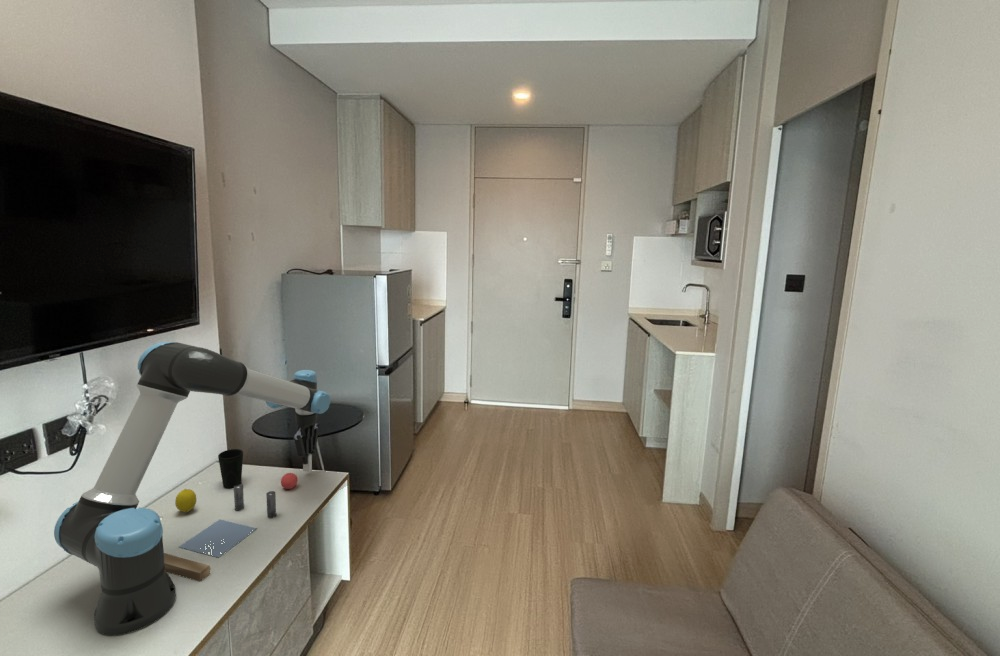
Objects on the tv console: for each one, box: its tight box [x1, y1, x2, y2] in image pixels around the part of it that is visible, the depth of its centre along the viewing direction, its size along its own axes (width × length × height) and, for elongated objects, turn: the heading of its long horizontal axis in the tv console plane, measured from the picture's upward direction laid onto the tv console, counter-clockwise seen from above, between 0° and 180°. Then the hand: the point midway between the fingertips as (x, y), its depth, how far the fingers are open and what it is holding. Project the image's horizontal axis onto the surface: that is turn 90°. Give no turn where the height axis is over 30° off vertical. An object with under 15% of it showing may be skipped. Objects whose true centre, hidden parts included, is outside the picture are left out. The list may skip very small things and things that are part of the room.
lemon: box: [174, 488, 197, 513], centre depth 145 cm, size 6×6×8 cm
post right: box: [266, 490, 277, 519], centre depth 145 cm, size 3×3×8 cm
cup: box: [217, 448, 244, 490], centre depth 162 cm, size 8×8×12 cm
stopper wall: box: [164, 552, 211, 582], centre depth 121 cm, size 3×20×2 cm, turn 76°
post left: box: [233, 483, 245, 512], centre depth 148 cm, size 3×3×8 cm
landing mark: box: [178, 519, 258, 559], centre depth 134 cm, size 14×14×1 cm
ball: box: [280, 472, 299, 490], centre depth 162 cm, size 6×6×6 cm
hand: (307, 470), depth 172 cm, fingers closed
